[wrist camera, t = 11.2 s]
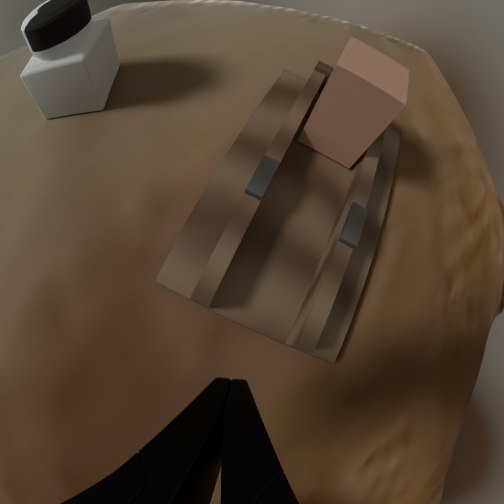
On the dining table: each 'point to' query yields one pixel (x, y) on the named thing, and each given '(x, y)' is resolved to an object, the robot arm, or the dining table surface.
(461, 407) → the dining table surface
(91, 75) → the medicine bottle
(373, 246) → the walnut chute
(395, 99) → the terracotta block
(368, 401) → the dining table surface
